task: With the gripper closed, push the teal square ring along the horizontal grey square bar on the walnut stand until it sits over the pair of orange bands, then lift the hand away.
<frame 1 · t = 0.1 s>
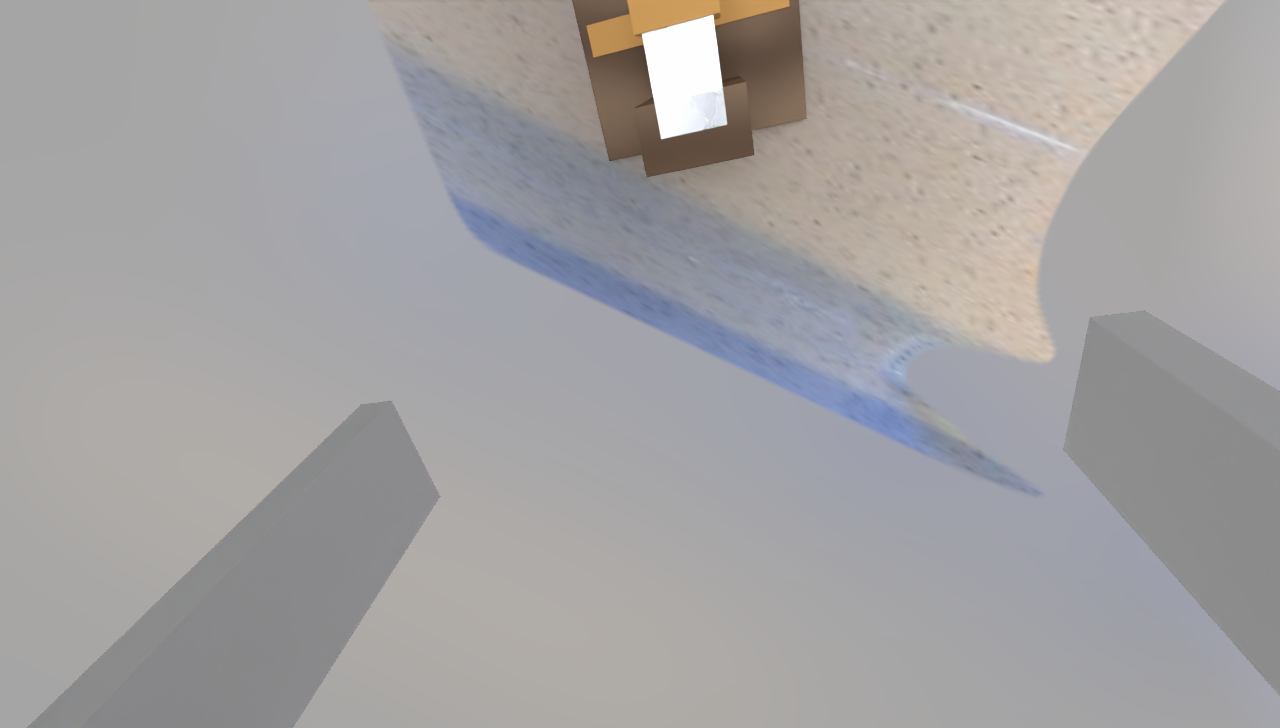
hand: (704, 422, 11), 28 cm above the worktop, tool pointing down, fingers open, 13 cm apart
pair of orange bands: (680, 9, 26), point 6 cm above the worktop
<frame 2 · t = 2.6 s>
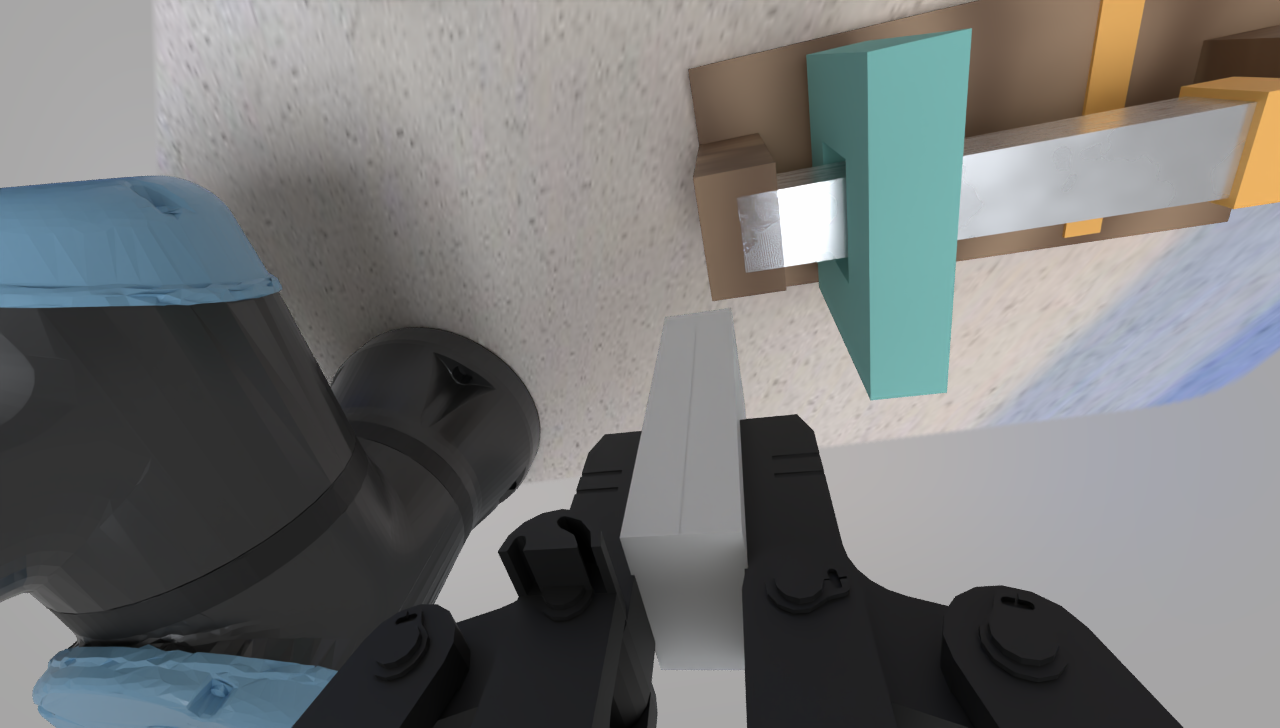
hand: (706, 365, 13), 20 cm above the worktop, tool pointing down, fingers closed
grey square bar: (1039, 174, 20), point 8 cm above the worktop
pair of orange bands: (1173, 131, 21), point 6 cm above the worktop
teal square ring: (868, 204, 21), point 9 cm above the worktop, slide at 0.0 cm
pipe stand: (948, 141, 28), on the worktop
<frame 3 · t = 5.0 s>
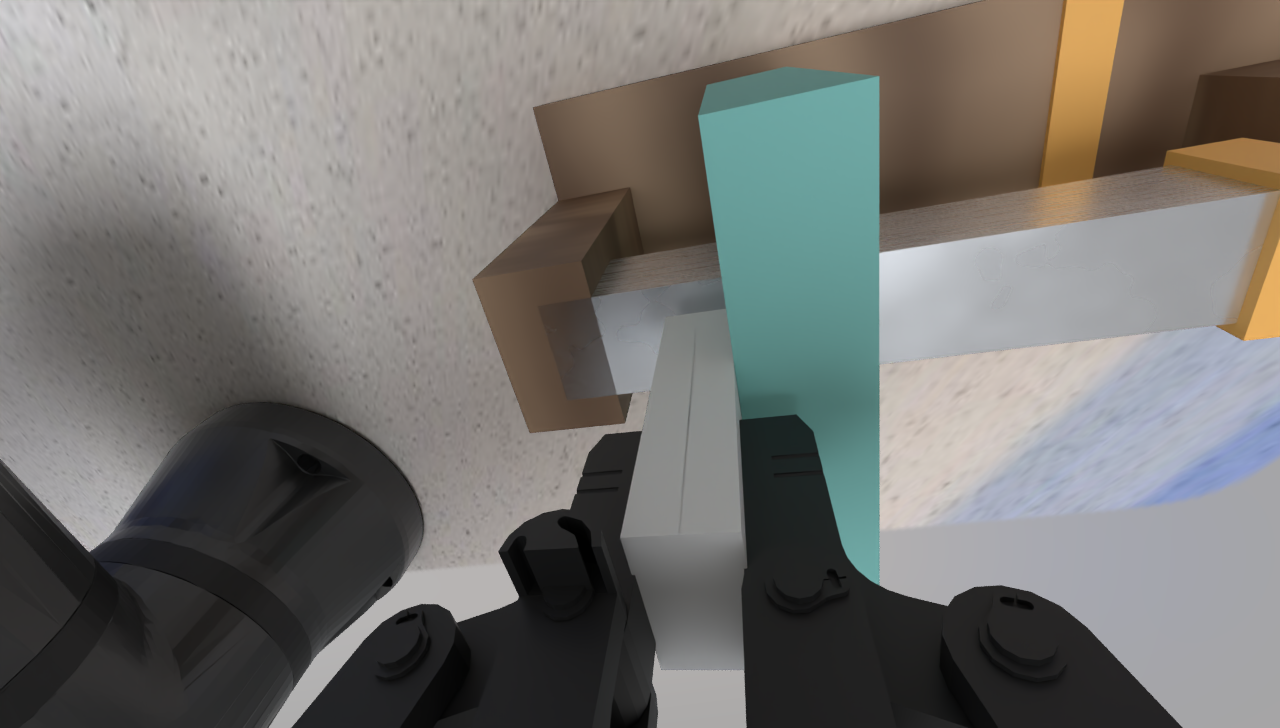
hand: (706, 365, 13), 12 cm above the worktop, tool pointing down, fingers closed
grey square bar: (965, 274, 14), point 9 cm above the worktop
pair of orange bands: (1157, 206, 15), point 6 cm above the worktop
teal square ring: (778, 301, 15), point 9 cm above the worktop, slide at 1.3 cm, touching gripper
pipe stand: (875, 197, 22), on the worktop
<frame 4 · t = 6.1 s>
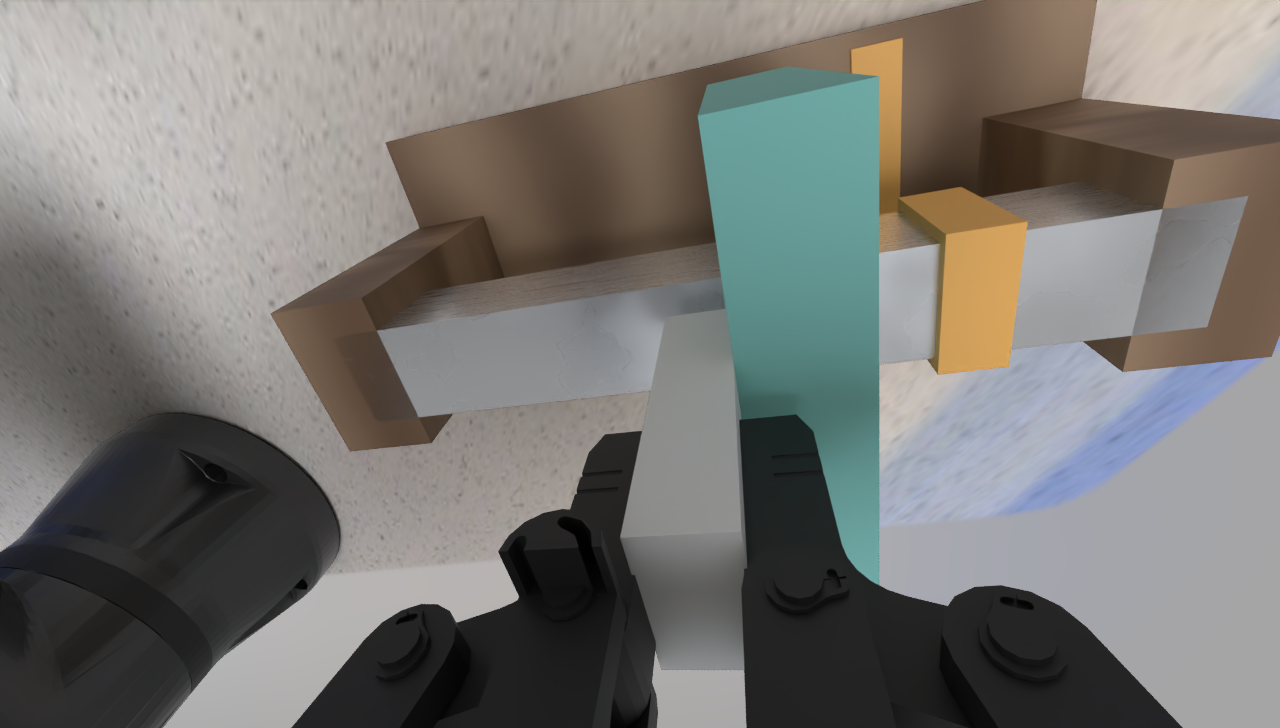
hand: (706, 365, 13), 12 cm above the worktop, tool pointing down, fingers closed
grey square bar: (719, 309, 15), point 9 cm above the worktop
pair of orange bands: (914, 244, 16), point 6 cm above the worktop
teal square ring: (779, 301, 15), point 9 cm above the worktop, slide at 7.7 cm, touching gripper
pipe stand: (718, 225, 23), on the worktop
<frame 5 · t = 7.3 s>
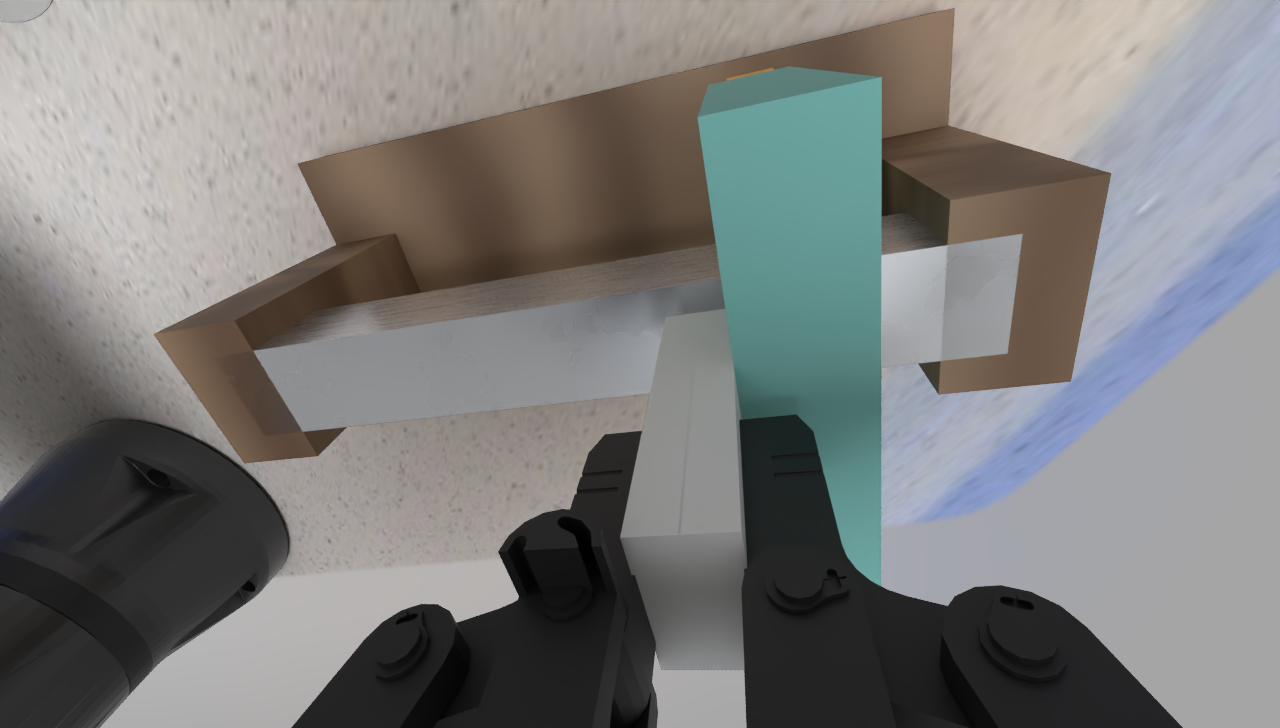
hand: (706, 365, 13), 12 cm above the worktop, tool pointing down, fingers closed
grey square bar: (578, 331, 16), point 8 cm above the worktop
teal square ring: (780, 303, 15), point 9 cm above the worktop, slide at 11.9 cm, touching gripper
pipe stand: (624, 242, 24), on the worktop
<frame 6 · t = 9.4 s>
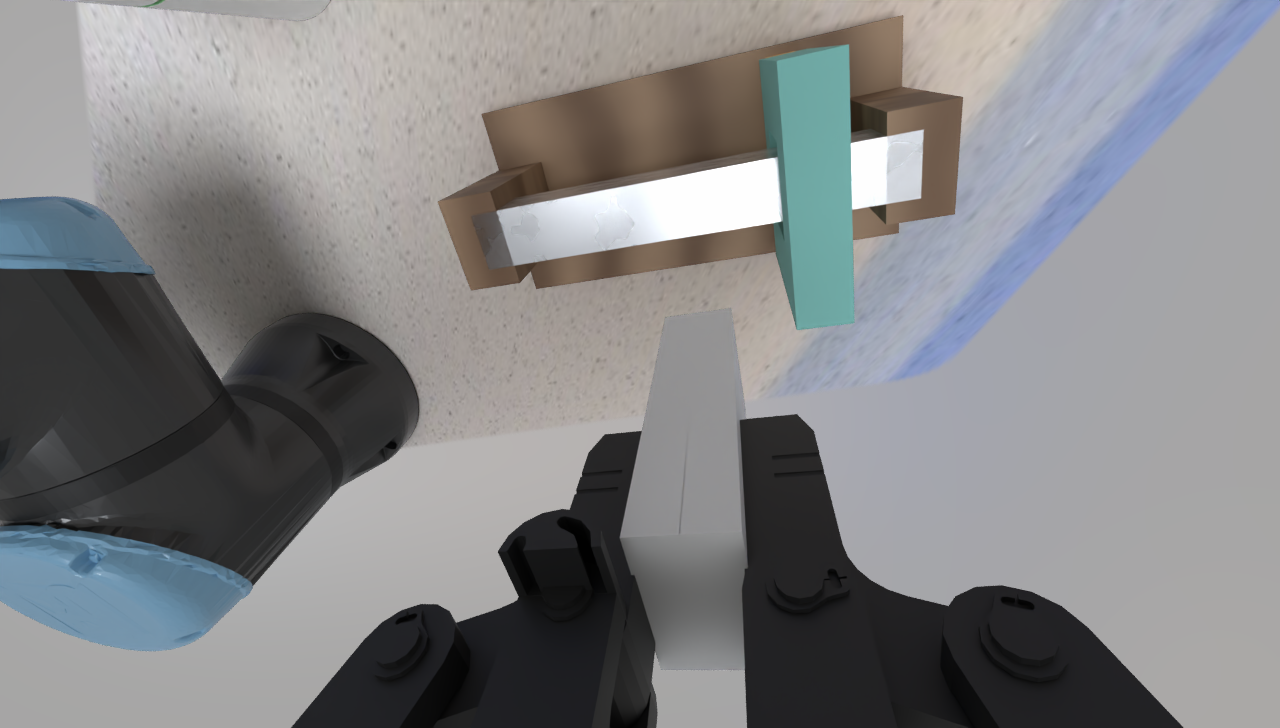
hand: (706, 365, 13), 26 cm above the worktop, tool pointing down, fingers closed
grey square bar: (683, 200, 28), point 8 cm above the worktop
teal square ring: (802, 179, 27), point 9 cm above the worktop, slide at 12.0 cm
pipe stand: (691, 169, 36), on the worktop
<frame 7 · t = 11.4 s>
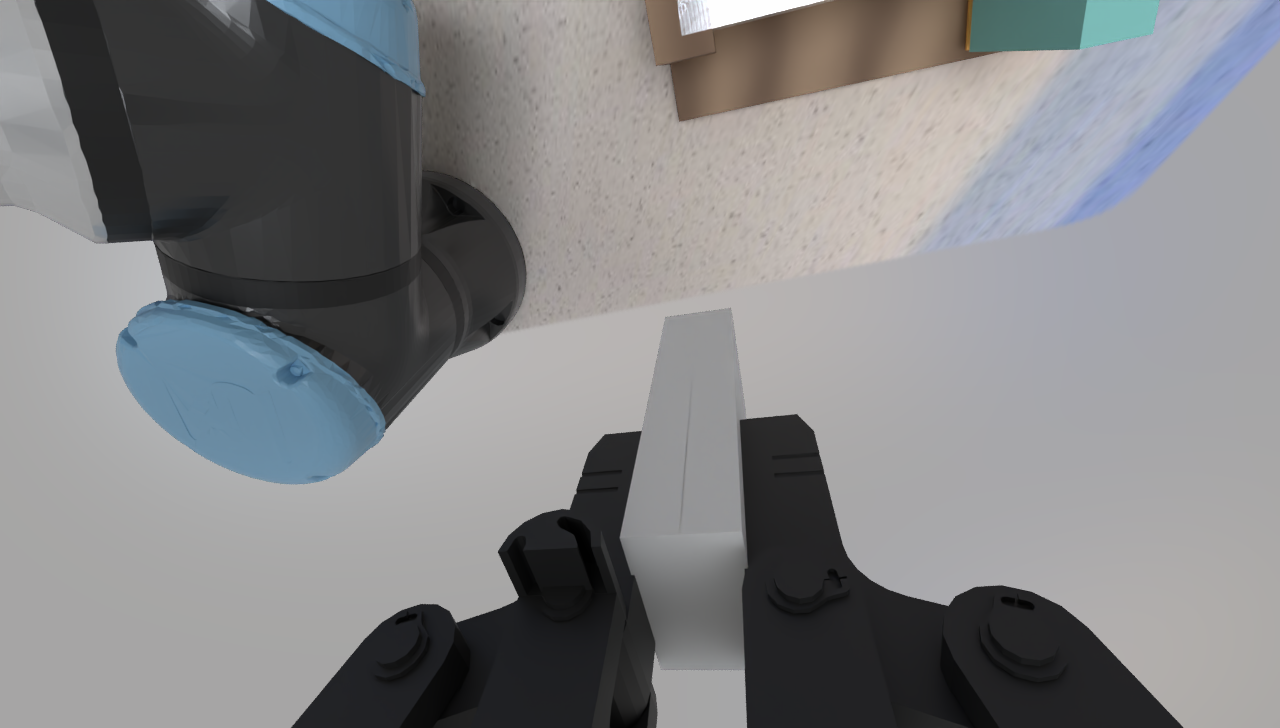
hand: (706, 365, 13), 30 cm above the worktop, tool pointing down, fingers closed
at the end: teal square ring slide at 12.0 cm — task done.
